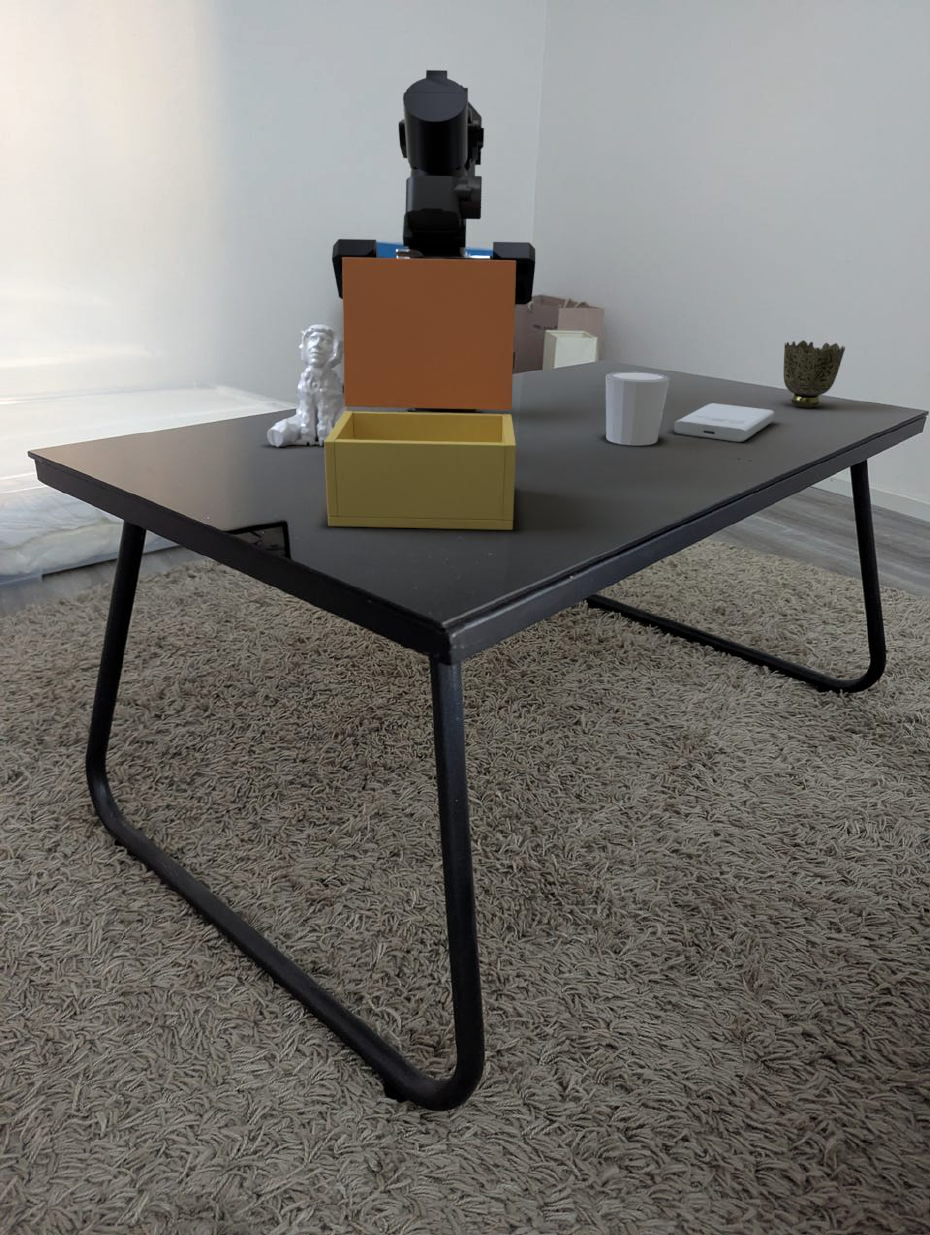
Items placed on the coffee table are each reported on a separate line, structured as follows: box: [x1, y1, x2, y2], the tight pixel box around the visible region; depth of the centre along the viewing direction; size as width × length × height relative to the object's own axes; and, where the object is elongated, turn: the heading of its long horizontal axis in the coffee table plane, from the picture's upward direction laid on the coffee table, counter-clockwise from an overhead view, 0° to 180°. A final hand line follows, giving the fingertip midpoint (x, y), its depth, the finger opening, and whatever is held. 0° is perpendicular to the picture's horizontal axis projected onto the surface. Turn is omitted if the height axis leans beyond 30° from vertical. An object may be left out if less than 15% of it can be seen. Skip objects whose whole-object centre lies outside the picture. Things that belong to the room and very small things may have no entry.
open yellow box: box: [323, 410, 517, 531], centre depth 75 cm, size 12×15×7 cm
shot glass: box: [605, 370, 671, 446], centre depth 99 cm, size 7×7×7 cm
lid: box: [342, 257, 516, 411], centre depth 77 cm, size 12×15×1 cm
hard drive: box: [673, 402, 775, 443], centre depth 106 cm, size 2×8×12 cm
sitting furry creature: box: [266, 323, 350, 448], centre depth 95 cm, size 10×9×12 cm
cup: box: [783, 339, 846, 409], centre depth 118 cm, size 8×7×8 cm
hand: (431, 344), depth 82 cm, fingers closed
